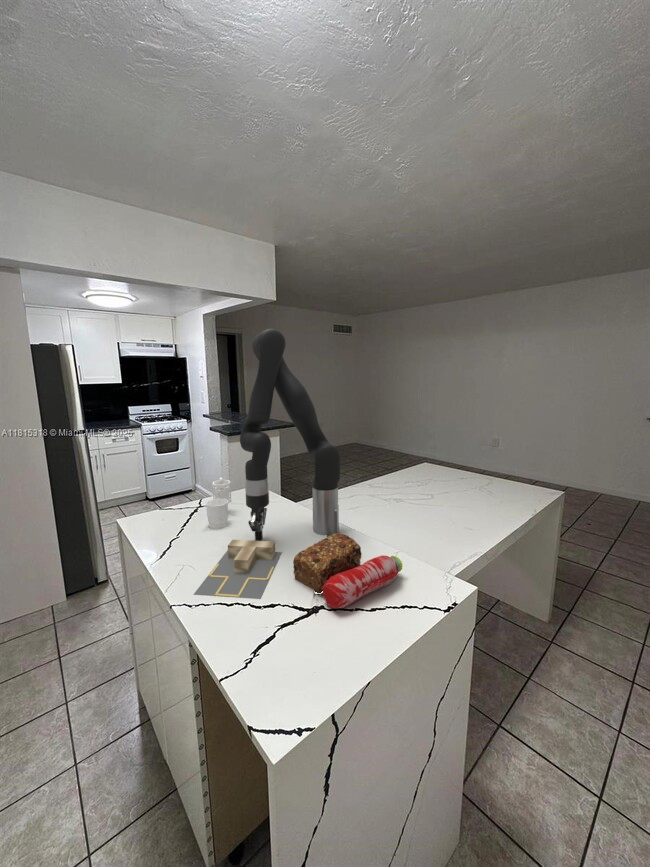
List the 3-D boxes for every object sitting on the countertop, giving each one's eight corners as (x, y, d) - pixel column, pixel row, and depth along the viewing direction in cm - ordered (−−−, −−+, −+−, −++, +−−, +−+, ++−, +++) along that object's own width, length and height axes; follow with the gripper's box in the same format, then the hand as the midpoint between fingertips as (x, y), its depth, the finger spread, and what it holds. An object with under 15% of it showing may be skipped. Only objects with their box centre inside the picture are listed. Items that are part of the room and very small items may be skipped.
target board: (282, 554, 114) (282, 551, 114) (260, 602, 90) (260, 598, 90) (228, 552, 116) (228, 548, 116) (193, 598, 92) (193, 593, 92)
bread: (336, 557, 113) (336, 527, 111) (363, 569, 105) (363, 538, 103) (291, 582, 99) (291, 549, 98) (318, 598, 92) (318, 563, 90)
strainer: (231, 510, 151) (229, 476, 149) (232, 516, 145) (230, 481, 142) (214, 512, 149) (212, 478, 146) (214, 518, 142) (212, 483, 140)
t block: (275, 553, 113) (275, 541, 112) (264, 574, 101) (264, 561, 100) (233, 551, 114) (232, 539, 114) (217, 571, 103) (217, 558, 102)
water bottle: (310, 571, 93) (377, 543, 108) (313, 600, 93) (380, 569, 108) (338, 585, 83) (408, 552, 98) (342, 618, 83) (411, 581, 98)
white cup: (223, 532, 130) (221, 506, 128) (203, 530, 132) (201, 505, 130) (232, 523, 138) (231, 499, 136) (214, 522, 139) (212, 497, 138)
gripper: (262, 498, 110) (264, 550, 112) (273, 485, 123) (274, 532, 125) (239, 497, 110) (241, 549, 113) (252, 484, 123) (254, 531, 126)
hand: (259, 540), depth 119 cm, fingers closed
